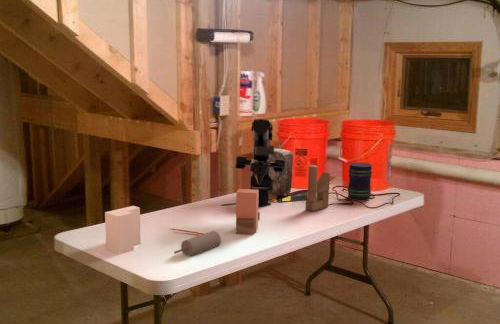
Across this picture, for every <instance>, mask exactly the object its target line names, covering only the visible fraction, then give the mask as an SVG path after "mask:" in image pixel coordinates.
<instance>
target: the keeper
mask: <svg viewBox="0 0 500 324" xmlns="http://www.w3.org/2000/svg"><path fill="white" fill-rule="evenodd" d="M235 196H236V197H235V198H236V202H235V210H236V211H235V220H236V219H237V218H253V219H255V232H257V231H258V228H259V220H258V212H259V206H258V197H259V190H253V189H249V188H248V189H247V188H238V189H237V191H236V195H235Z"/></svg>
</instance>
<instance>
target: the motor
mask: <svg viewBox="0 0 500 324" xmlns="http://www.w3.org/2000/svg"><path fill="white" fill-rule="evenodd" d="M168 230H171V231H173V233H175V234H179V232H181V234H182V235H190V236H193V237H190V238H187V239H185V240H183V241H182V242H181V245H180V249H178V250H175V251H173V253H174V255H175V254H178V253H181V252H182V253H183V255H185V256H189V257H191V256H194V255H196V254H199V253H202V252H205V251H207V250H210V249H212V248H214V247H218V246H220V245H221V244H222V241H223V240H222V239H223V238H222V237H223V236H222V234H221V233H220V232H219V231H218V230H215V229H214V230H211V231H209V232H199V231H198V232H197V231H192V230H183V229H177V228H168ZM177 231H178V232H177Z"/></svg>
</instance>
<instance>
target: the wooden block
mask: <svg viewBox="0 0 500 324" xmlns="http://www.w3.org/2000/svg"><path fill="white" fill-rule="evenodd" d="M318 170H319V169H318V166H317V165H309V166H308V174H307V175H308V177H307V178H308V180H307V201H306V200H305V211H309V212H315V211H319V210H322V209H326V208H328V207H329V196H330V177H331V176H330V175H331V173H329V172H322V173H321V175H320V176H319V178H318V172H319V171H318Z"/></svg>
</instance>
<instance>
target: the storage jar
mask: <svg viewBox="0 0 500 324" xmlns="http://www.w3.org/2000/svg"><path fill="white" fill-rule="evenodd" d="M348 167H349V168H348V177H349V179H348V185H347V199H349V200H353V201H360V202H361V201H365V202H366V201H369V200H371V194H372V190H371V189H372V186H371V179H372V176H373V175H372V174H373V171H372V170H373V168H372V167H373V165H372V164H371V163H370V162H369V163H368V162H357V161H356V162H350V163H349V164H348Z"/></svg>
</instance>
